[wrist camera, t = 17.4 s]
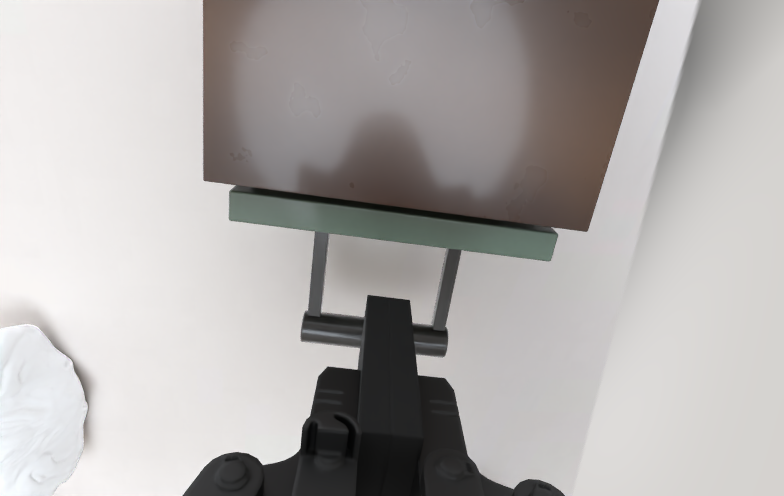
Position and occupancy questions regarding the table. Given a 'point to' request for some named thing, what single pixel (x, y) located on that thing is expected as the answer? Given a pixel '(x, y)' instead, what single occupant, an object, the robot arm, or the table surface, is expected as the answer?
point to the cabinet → (422, 101)
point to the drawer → (386, 226)
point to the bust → (37, 414)
